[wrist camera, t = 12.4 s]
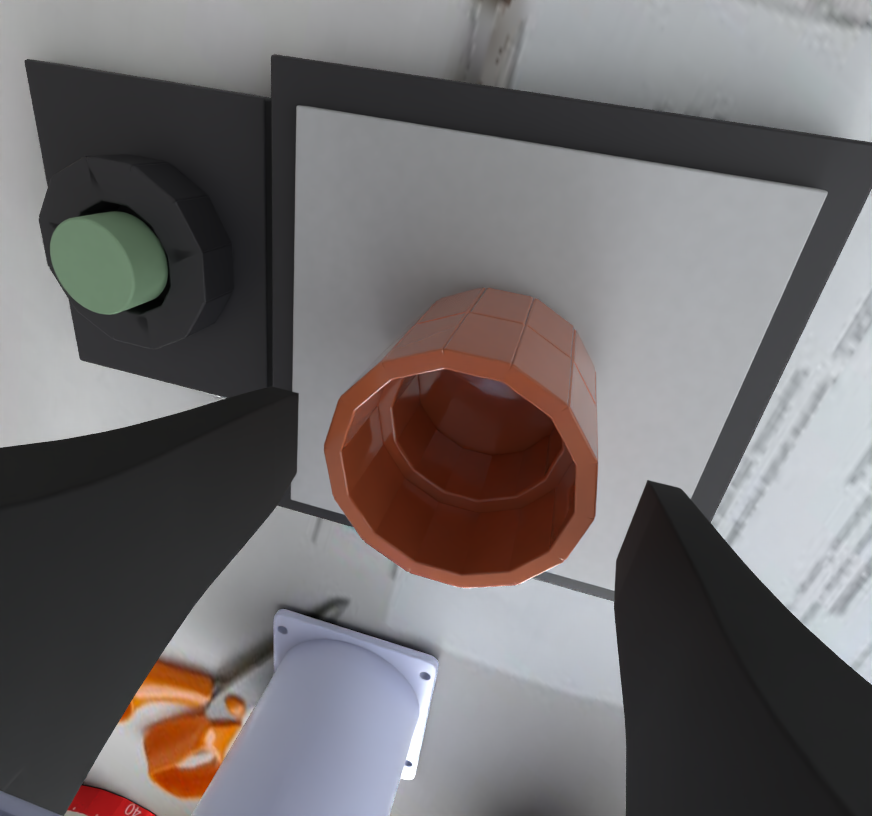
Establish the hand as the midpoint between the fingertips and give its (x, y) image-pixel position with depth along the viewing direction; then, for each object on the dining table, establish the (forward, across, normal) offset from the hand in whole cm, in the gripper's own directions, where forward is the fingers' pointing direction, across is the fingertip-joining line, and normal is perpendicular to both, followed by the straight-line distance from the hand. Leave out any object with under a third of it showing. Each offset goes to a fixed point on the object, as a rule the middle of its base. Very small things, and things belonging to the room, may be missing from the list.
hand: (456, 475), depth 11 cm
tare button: (+5, +12, -1) cm, 13 cm away
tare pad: (+8, +12, -1) cm, 14 cm away
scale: (+8, 0, 0) cm, 8 cm away
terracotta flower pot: (+5, 0, 0) cm, 5 cm away
